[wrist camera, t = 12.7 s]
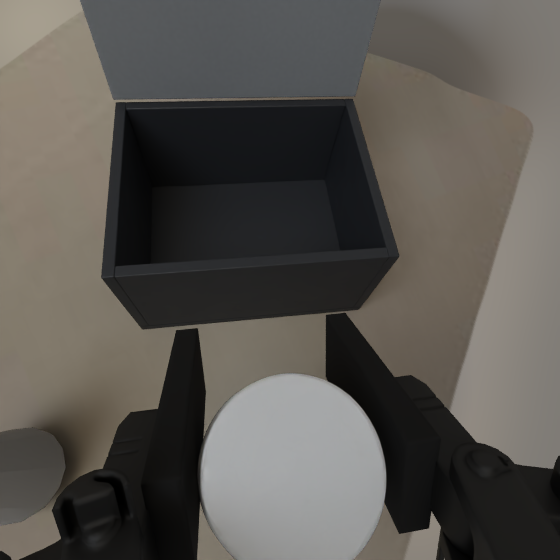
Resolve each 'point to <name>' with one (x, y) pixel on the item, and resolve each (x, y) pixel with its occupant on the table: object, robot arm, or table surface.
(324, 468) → the pill bottle
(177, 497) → the robot arm
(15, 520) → the salt shaker
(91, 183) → the table surface
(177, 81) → the grey box lid
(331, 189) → the box
